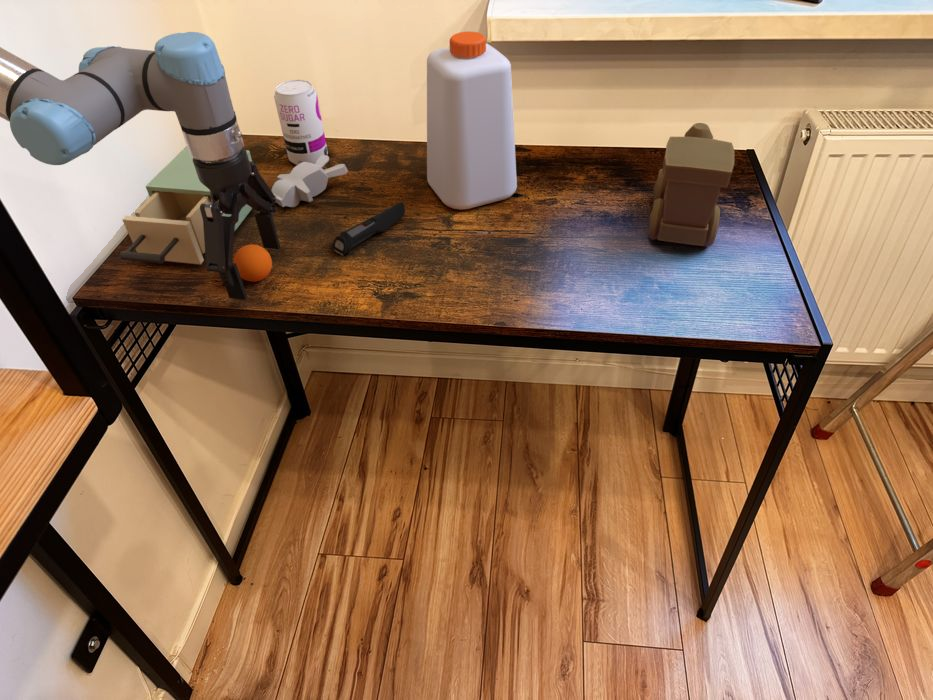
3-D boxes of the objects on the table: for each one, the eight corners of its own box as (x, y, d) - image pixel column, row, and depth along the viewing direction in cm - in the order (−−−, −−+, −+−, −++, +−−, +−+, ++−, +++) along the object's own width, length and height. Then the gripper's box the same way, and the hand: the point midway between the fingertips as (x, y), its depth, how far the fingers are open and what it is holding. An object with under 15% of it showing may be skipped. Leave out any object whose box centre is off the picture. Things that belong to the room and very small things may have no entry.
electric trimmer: (411, 220, 122) (410, 205, 120) (345, 257, 114) (342, 242, 112) (397, 212, 124) (395, 197, 122) (331, 249, 116) (328, 233, 114)
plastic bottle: (490, 162, 136) (490, 16, 117) (524, 197, 126) (529, 44, 107) (421, 179, 132) (408, 30, 113) (450, 216, 122) (442, 60, 103)
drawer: (183, 287, 108) (166, 247, 103) (119, 280, 110) (100, 241, 104) (235, 220, 122) (223, 182, 116) (178, 215, 124) (163, 177, 118)
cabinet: (228, 239, 119) (213, 191, 112) (164, 233, 121) (145, 186, 114) (261, 196, 129) (249, 150, 123) (202, 191, 131) (186, 145, 125)
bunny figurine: (256, 181, 125) (318, 143, 132) (265, 203, 129) (324, 165, 136) (286, 198, 121) (348, 158, 127) (295, 221, 125) (355, 181, 131)
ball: (232, 287, 109) (222, 257, 105) (248, 265, 113) (238, 235, 109) (267, 290, 108) (258, 260, 104) (281, 268, 112) (273, 238, 108)
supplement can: (324, 145, 143) (311, 75, 133) (331, 163, 138) (318, 91, 127) (286, 152, 142) (270, 82, 131) (291, 170, 136) (275, 98, 126)
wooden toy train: (713, 262, 110) (738, 171, 99) (642, 252, 113) (659, 163, 101) (715, 199, 124) (738, 113, 112) (652, 192, 126) (668, 106, 115)
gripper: (201, 200, 86) (245, 323, 100) (277, 114, 103) (304, 230, 118) (148, 196, 87) (199, 318, 102) (232, 112, 104) (265, 227, 119)
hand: (256, 271), depth 110 cm, fingers open, 13 cm apart
